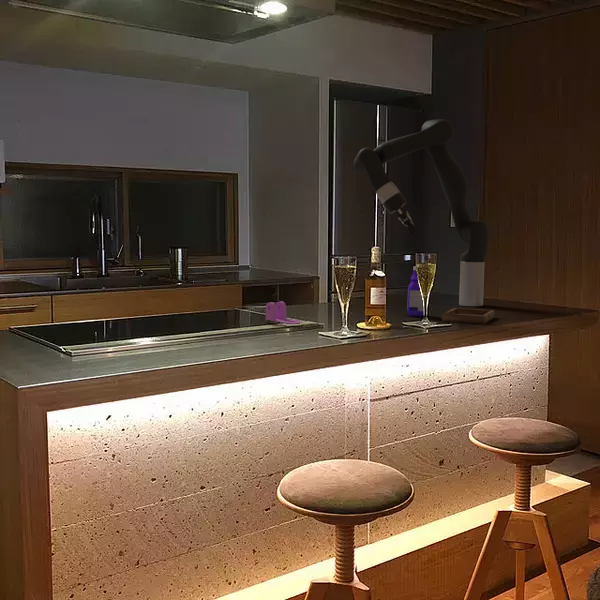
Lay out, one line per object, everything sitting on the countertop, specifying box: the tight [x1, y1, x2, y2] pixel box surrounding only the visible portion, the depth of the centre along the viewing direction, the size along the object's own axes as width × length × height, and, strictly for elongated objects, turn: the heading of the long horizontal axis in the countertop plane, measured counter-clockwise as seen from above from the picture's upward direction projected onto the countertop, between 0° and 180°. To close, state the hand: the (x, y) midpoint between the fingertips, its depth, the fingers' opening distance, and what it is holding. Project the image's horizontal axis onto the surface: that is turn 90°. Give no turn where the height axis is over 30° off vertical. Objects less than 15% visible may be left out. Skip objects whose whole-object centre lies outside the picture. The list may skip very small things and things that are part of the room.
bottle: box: [406, 265, 423, 317], centre depth 273 cm, size 7×6×17 cm
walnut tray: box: [441, 307, 495, 325], centre depth 267 cm, size 18×14×2 cm
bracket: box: [265, 300, 303, 324], centre depth 250 cm, size 13×6×7 cm, turn 43°
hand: (416, 234), depth 278 cm, fingers open, 8 cm apart
